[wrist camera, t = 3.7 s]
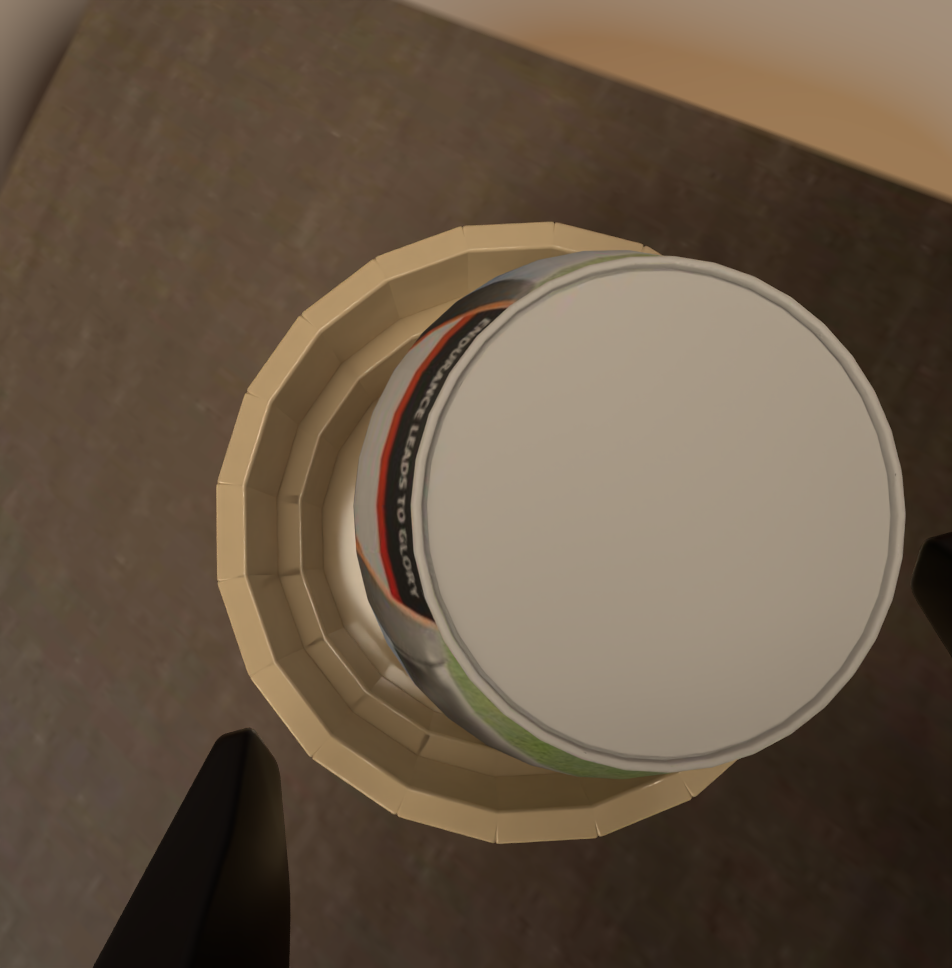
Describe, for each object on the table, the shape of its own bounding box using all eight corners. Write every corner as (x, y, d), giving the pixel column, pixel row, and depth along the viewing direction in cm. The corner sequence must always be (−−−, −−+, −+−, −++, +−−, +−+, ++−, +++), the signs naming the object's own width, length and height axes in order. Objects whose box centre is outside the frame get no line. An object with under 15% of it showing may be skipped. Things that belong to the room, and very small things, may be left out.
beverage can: (427, 369, 19) (350, 16, 7) (686, 469, 18) (1081, 283, 6) (336, 590, 18) (69, 632, 6) (603, 697, 18) (880, 963, 6)
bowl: (833, 563, 19) (965, 561, 14) (479, 869, 18) (482, 987, 13) (541, 226, 20) (565, 111, 15) (192, 496, 19) (92, 470, 14)
